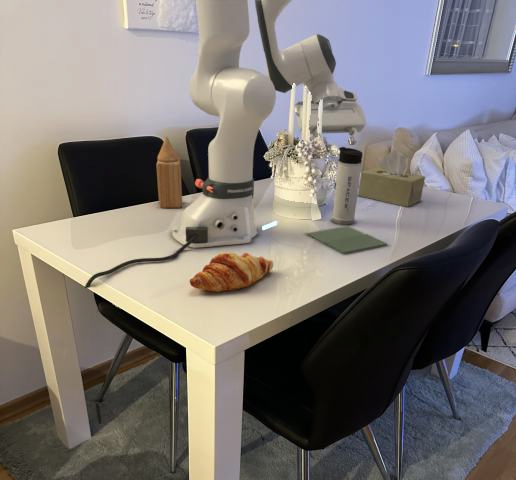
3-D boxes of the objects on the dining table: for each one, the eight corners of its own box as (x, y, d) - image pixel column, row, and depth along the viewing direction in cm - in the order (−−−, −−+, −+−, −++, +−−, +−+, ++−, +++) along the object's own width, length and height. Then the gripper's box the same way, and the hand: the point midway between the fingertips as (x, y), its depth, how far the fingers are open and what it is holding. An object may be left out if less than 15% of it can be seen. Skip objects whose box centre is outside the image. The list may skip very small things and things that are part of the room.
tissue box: (357, 195, 171) (363, 146, 163) (370, 190, 177) (377, 143, 169) (408, 207, 161) (418, 155, 153) (421, 201, 167) (431, 151, 159)
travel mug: (338, 216, 150) (346, 145, 140) (357, 221, 147) (367, 149, 136) (326, 221, 146) (334, 148, 136) (346, 226, 142) (355, 152, 132)
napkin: (344, 254, 124) (344, 251, 124) (306, 234, 136) (307, 232, 135) (386, 245, 130) (387, 243, 130) (347, 227, 142) (348, 225, 141)
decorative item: (160, 202, 157) (156, 133, 147) (182, 202, 158) (179, 133, 147) (159, 208, 152) (154, 137, 141) (181, 208, 152) (178, 137, 142)
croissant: (263, 280, 117) (254, 246, 116) (290, 274, 109) (281, 238, 108) (185, 303, 105) (174, 265, 104) (209, 297, 97) (198, 257, 96)
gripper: (296, 94, 137) (309, 138, 135) (361, 93, 144) (374, 136, 142) (288, 109, 143) (301, 152, 141) (351, 108, 150) (363, 149, 147)
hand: (338, 144), depth 141 cm, fingers open, 8 cm apart
